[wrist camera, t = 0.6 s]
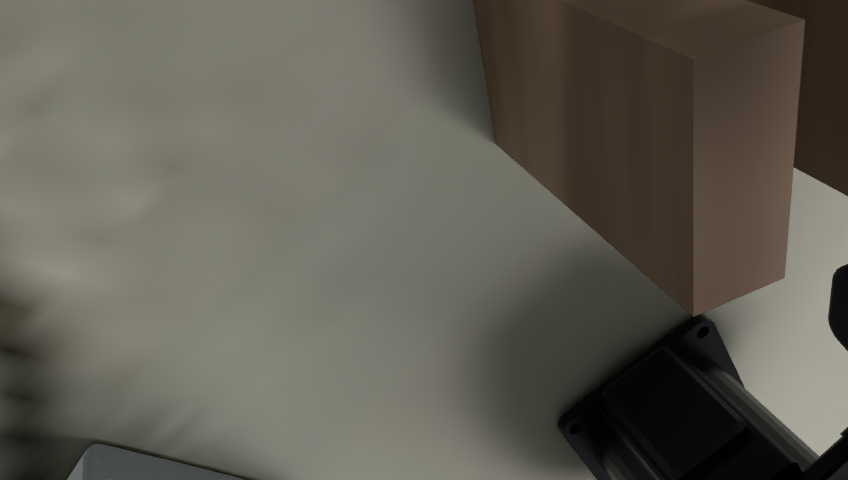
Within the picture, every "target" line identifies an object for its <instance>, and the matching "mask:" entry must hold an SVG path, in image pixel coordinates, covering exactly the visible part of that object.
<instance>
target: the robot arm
mask: <svg viewBox="0 0 848 480" xmlns="http://www.w3.org/2000/svg"><path fill="white" fill-rule="evenodd" d="M828 321H829V325H830V328H831V331H832V332H833V334H834V336H835V337H836V338H837V340H838V341H839V342H840V343H841V344H842V345H843V346H844V348H845V349H846V350H847V351H848V264H847V265H844V266H842V267H840V268H838V269H837V270H836V272H835V273H834V275H833V279H832V288H831V297H830V306H829V315H828ZM558 429H559V431H560V432H561V433H562V435H563V436H564V437H565V439H566V440H567V441H568V443H569V444H570V445H571V446H572V448H573V449H574V450H575V452H576V453H577V454H578V455H579V457H580V458H581V459H582V460H583V462H584V463H585V464H586V466H587V467H588V468H589V469H590V471H591V472H592V473H593V475H594V476H595V477H596V478H597V480H848V427H847V428H846V429H845V430H844V431H843V432H842V433H840V434H841V435H842V437H841V438H840V439H839V440H838V441H837V442H836V443H834V444H833V445H832V446H831V447H830V448H829V449H828V450H827V451H826V452H824V453H823V454H822V455H821V456H818V455H817V454H816V453H815V452H814V451H813V450H812V449H811V448H810V447H809V446H807V445H806V444H805V443H804V442H803V441H802V440H801V439H800V438H799V437H798V436H796V435H795V434H794V433H793V432H792V431H791V430H790V429H789V428H788V427H787V426H785V425H784V424H783V423H782V422H781V421H780V420H779V419H778V418H777V417H776V416H775V415H773V414H772V413H771V412H770V411H769V410H768V409H767V408H766V407H765V406H764V405H762V404H761V403H760V402H759V401H758V400H757V399H756V398H755V397H754V396H753V395H751V394H750V393H749V392H748V391H747V390H746V389H745V387H744V385H743V383H742V381H741V379H740V377H739V375H738V373H737V371H736V368H735V366H734V364H733V362H732V360H731V358H730V356H729V354H728V352H727V349H726V347H725V345H724V343H723V341H722V339H721V337H720V335H719V333H718V330H717V328H716V326H715V324H714V323H713V322H712V321H711V320H710V319H709V318H707V317H706V316H705V315H702V314H699V315H697V316H694V317H692V318H690V319H689V320H688V321H686V322H685V323H684V324H683V325H681V326H680V327H679V328H677V329H676V330H675V331H673V332H672V333H671V334H669V335H668V336H667V337H665V338H664V339H663V340H661V341H660V342H659V343H657V344H656V345H655V346H653V347H652V348H651V349H649V350H648V351H647V352H646V353H644V354H643V355H642V356H640V357H639V358H638V359H636V360H635V361H634V362H632V363H631V364H630V365H628V366H627V367H626V368H624V369H623V370H622V371H620V372H619V373H618V374H616V375H615V376H614V377H612V378H611V379H610V380H609V381H607V382H606V383H605V384H603V385H602V386H601V387H599V388H598V389H597V390H595V391H594V392H593V393H591V394H590V395H589V396H587V397H586V398H585V399H583V400H582V401H581V402H579V403H578V404H577V405H575V406H574V407H573V408H572V409H570V410H569V411H568V412H566V413H565V414H564V415H563V416H562V417H561V418H560V420H559V421H558Z"/></svg>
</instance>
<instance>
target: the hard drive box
mask: <svg viewBox="0 0 848 480" xmlns="http://www.w3.org/2000/svg"><path fill="white" fill-rule="evenodd" d="M67 480H246V479H242V478H238V477H234V476H230V475H226V474H222V473H218V472H214V471H210V470H206V469H202V468H198V467H194V466H190V465H186V464H182V463H179V462H175V461H170V460H166V459H162V458H157V457H153V456H149V455H145V454H141V453H137V452H133V451H129V450H125V449H121V448H116V447H112V446H108V445H104V444H93V445H91V446H90V447H89V448H88V449H87V450H86V452H85V453H84V454H83V456H82V457H81V459H80V460H79V462H78V463H77V465H76V466H75V468H74V470H73V471H72V473H71V474H70V476H69V477H68V479H67Z"/></svg>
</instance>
